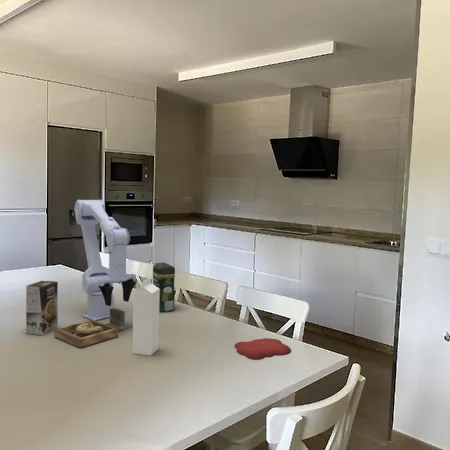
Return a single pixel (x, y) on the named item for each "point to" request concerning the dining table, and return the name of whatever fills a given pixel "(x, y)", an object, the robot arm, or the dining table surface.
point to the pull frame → (109, 329)
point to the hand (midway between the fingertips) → (117, 303)
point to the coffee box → (41, 307)
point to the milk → (146, 319)
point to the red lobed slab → (262, 348)
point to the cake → (87, 330)
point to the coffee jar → (164, 285)
